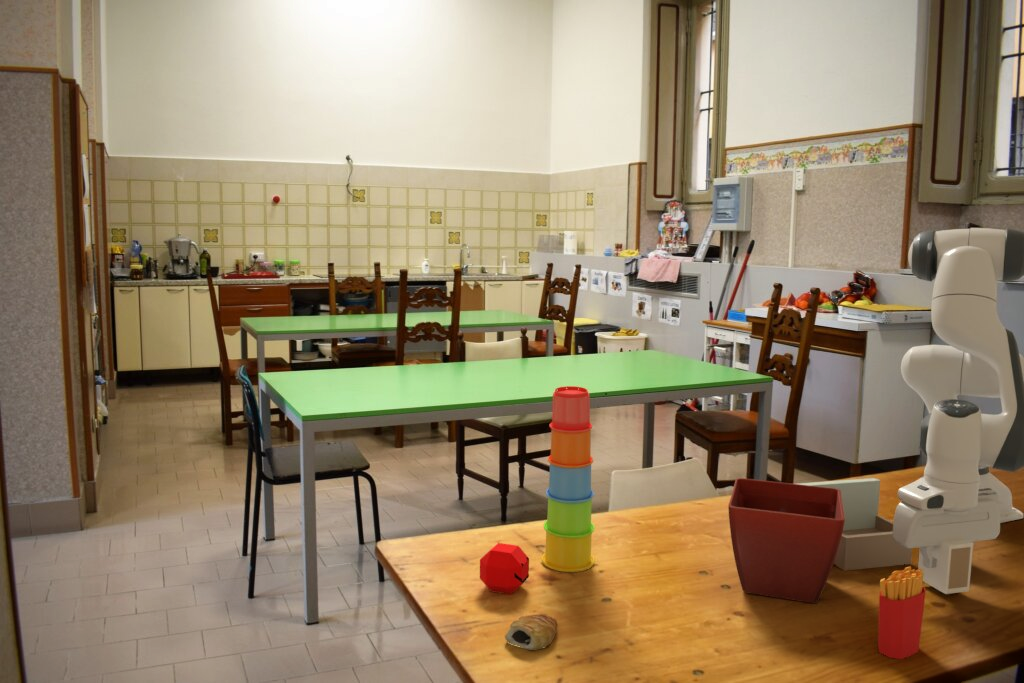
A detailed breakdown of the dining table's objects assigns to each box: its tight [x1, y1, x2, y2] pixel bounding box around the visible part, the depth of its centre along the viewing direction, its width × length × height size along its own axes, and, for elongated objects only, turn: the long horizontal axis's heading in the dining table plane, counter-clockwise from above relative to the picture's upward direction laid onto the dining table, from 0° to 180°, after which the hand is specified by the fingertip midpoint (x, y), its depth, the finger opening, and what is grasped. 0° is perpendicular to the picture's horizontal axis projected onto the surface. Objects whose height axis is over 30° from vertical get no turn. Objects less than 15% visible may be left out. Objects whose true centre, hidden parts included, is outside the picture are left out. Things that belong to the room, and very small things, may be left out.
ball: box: [479, 542, 530, 595], centre depth 152 cm, size 8×8×8 cm
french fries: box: [877, 565, 926, 660], centre depth 130 cm, size 9×4×13 cm, turn 123°
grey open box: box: [796, 477, 913, 572], centre depth 168 cm, size 20×12×14 cm, turn 104°
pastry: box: [504, 613, 559, 651], centre depth 134 cm, size 9×7×4 cm
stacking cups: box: [541, 385, 595, 573], centre depth 162 cm, size 10×10×35 cm
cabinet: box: [917, 539, 974, 595], centre depth 153 cm, size 5×7×9 cm
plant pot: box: [727, 477, 845, 604], centre depth 154 cm, size 19×19×17 cm
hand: (944, 565), depth 153 cm, fingers closed on cabinet, 5 cm apart
